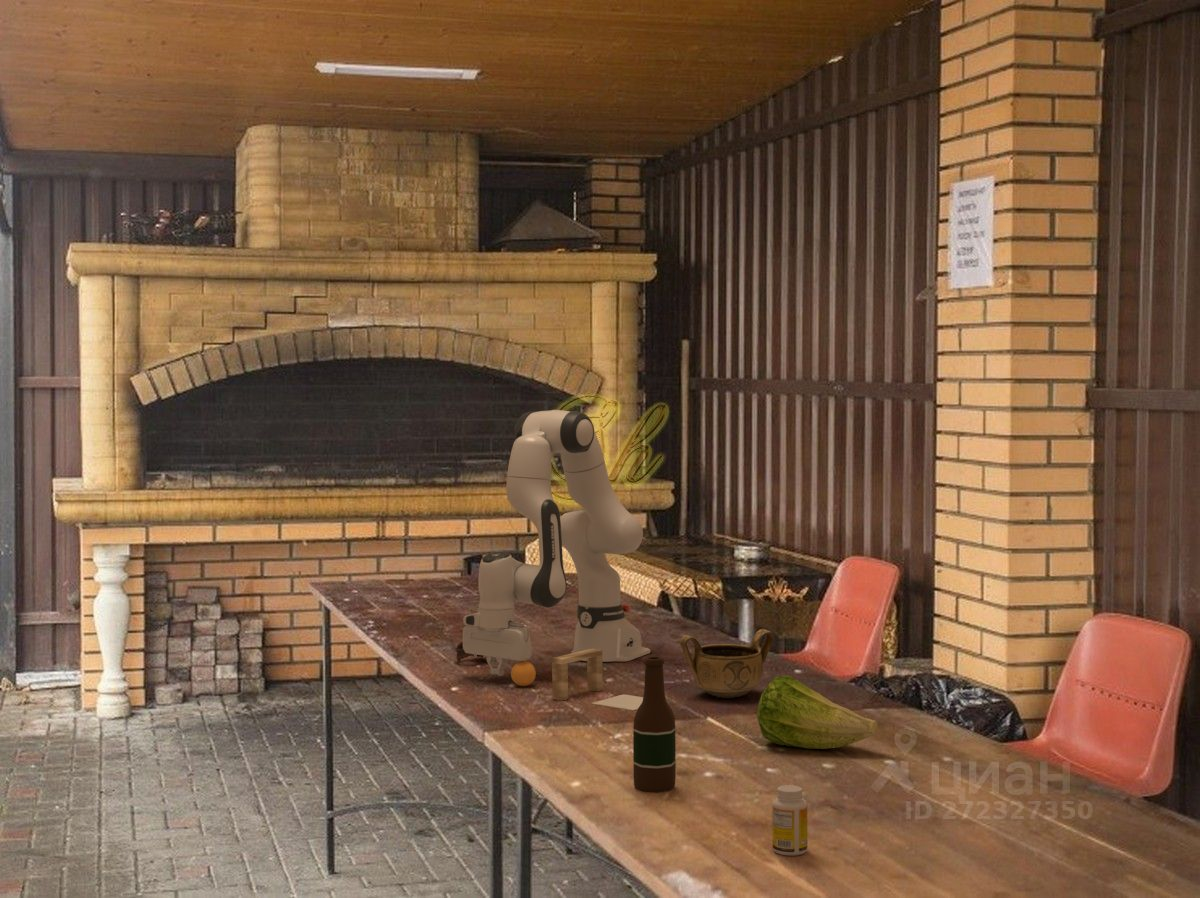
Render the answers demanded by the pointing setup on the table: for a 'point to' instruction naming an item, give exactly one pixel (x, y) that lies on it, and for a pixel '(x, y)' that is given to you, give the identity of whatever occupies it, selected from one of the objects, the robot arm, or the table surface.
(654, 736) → the beer bottle
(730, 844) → the table surface
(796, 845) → the supplement bottle
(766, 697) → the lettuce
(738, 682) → the ceramic bowl
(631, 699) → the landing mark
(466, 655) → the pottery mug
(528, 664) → the ball
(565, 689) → the bridge
